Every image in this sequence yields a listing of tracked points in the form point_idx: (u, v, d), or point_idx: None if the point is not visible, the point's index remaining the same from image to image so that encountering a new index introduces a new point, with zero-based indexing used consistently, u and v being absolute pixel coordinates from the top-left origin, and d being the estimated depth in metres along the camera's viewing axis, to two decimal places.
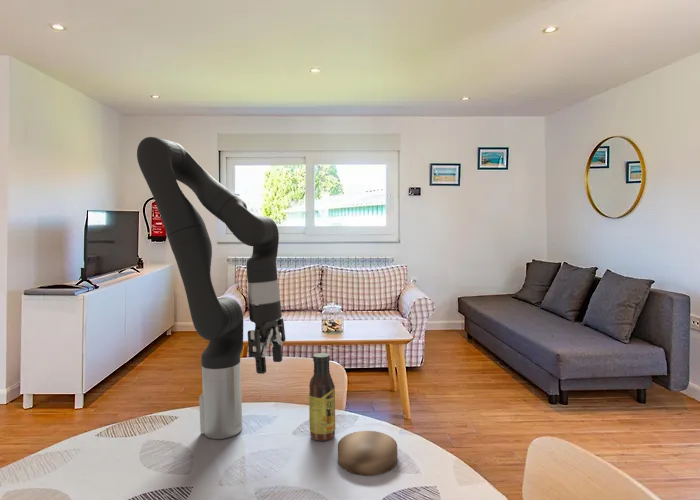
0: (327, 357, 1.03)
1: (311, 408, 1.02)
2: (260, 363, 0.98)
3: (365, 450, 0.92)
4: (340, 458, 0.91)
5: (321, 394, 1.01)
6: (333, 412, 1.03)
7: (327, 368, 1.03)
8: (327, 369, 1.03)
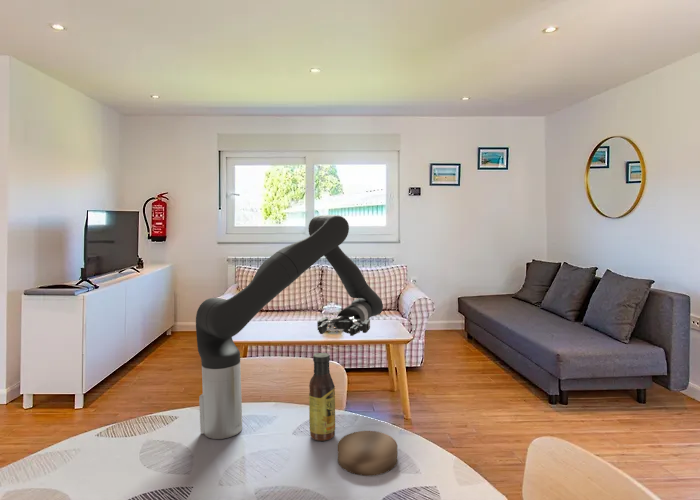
0: (327, 357, 1.03)
1: (311, 408, 1.02)
2: (357, 331, 1.15)
3: (365, 450, 0.92)
4: (340, 458, 0.91)
5: (321, 394, 1.01)
6: (333, 412, 1.03)
7: (327, 368, 1.03)
8: (327, 369, 1.03)
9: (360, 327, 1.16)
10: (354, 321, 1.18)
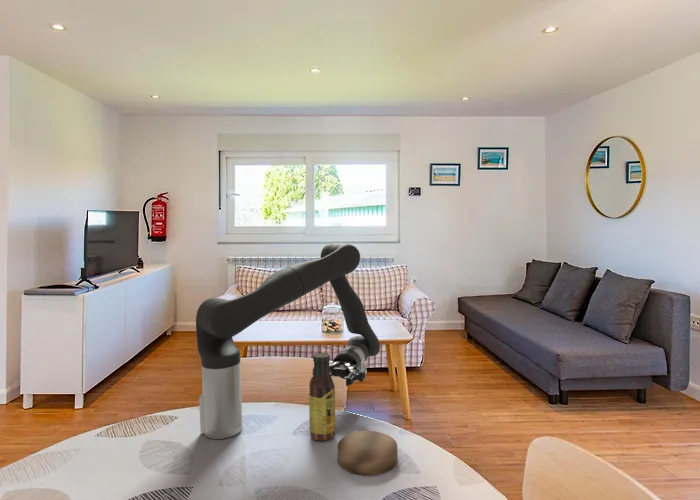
0: (327, 357, 1.03)
1: (311, 408, 1.02)
2: (353, 381, 1.12)
3: (365, 450, 0.92)
4: (340, 458, 0.91)
5: (321, 394, 1.01)
6: (333, 412, 1.03)
7: (327, 368, 1.03)
8: (327, 369, 1.03)
9: (356, 376, 1.13)
10: (350, 369, 1.15)
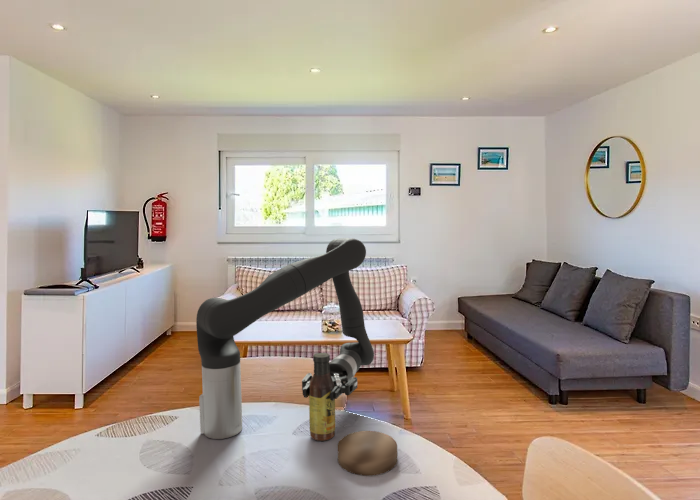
0: (327, 357, 1.03)
1: (311, 408, 1.02)
2: (339, 394, 1.03)
3: (365, 450, 0.92)
4: (340, 458, 0.91)
5: (321, 394, 1.01)
6: (333, 412, 1.03)
7: (327, 368, 1.03)
8: (327, 369, 1.03)
9: (342, 389, 1.04)
10: (337, 381, 1.06)
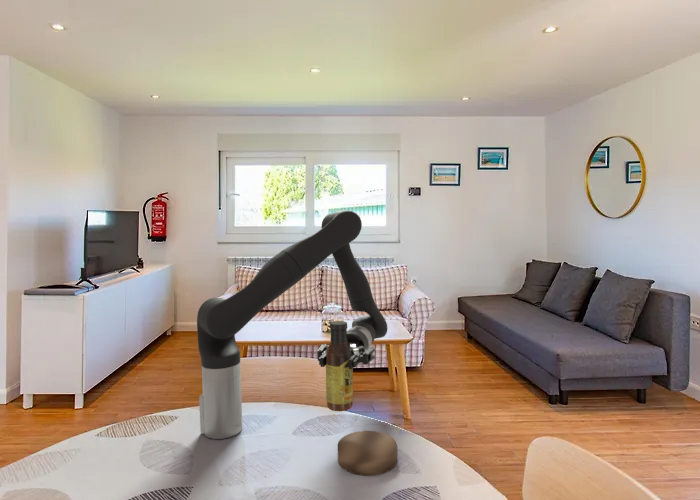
0: (345, 324, 0.98)
1: (329, 377, 0.98)
2: (357, 363, 0.99)
3: (365, 450, 0.92)
4: (340, 458, 0.91)
5: (339, 363, 0.97)
6: (351, 382, 0.99)
7: (345, 336, 0.99)
8: (345, 337, 0.99)
9: (360, 358, 1.00)
10: (354, 350, 1.02)
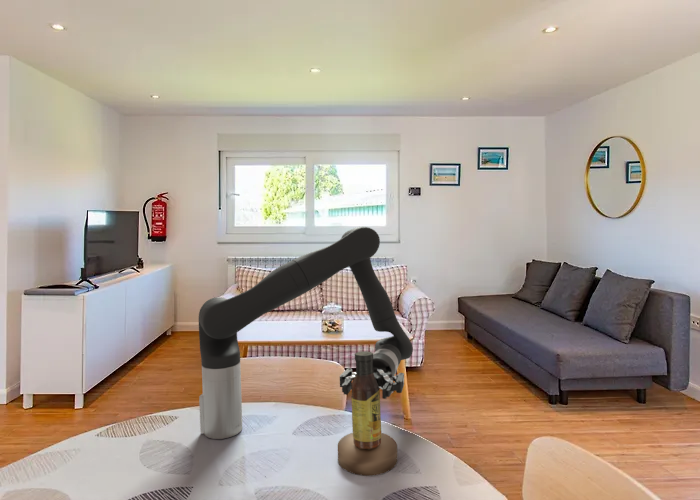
0: (371, 355, 0.93)
1: (355, 412, 0.92)
2: (391, 392, 0.92)
3: (365, 450, 0.92)
4: (340, 458, 0.91)
5: (366, 396, 0.91)
6: (379, 417, 0.93)
7: (371, 368, 0.93)
8: (371, 369, 0.93)
9: (394, 386, 0.93)
10: (386, 377, 0.96)
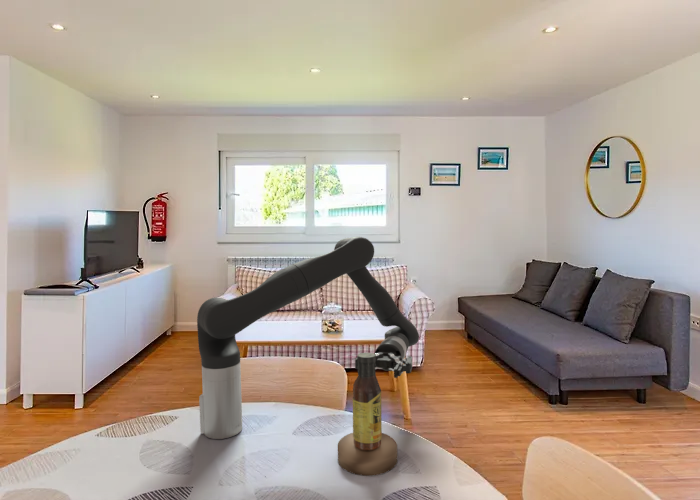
0: (373, 357, 0.92)
1: (356, 414, 0.92)
2: (401, 372, 1.04)
3: None
4: (340, 458, 0.91)
5: (368, 399, 0.91)
6: (380, 418, 0.92)
7: (373, 370, 0.92)
8: (373, 371, 0.92)
9: (404, 367, 1.05)
10: (396, 360, 1.08)
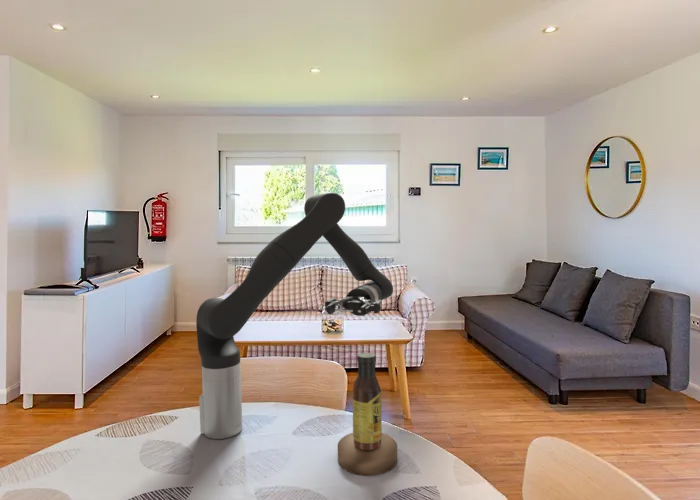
0: (373, 357, 0.92)
1: (356, 414, 0.92)
2: (368, 311, 1.06)
3: None
4: (340, 458, 0.91)
5: (368, 399, 0.91)
6: (380, 418, 0.92)
7: (373, 370, 0.92)
8: (373, 371, 0.92)
9: (371, 307, 1.07)
10: (365, 301, 1.09)
